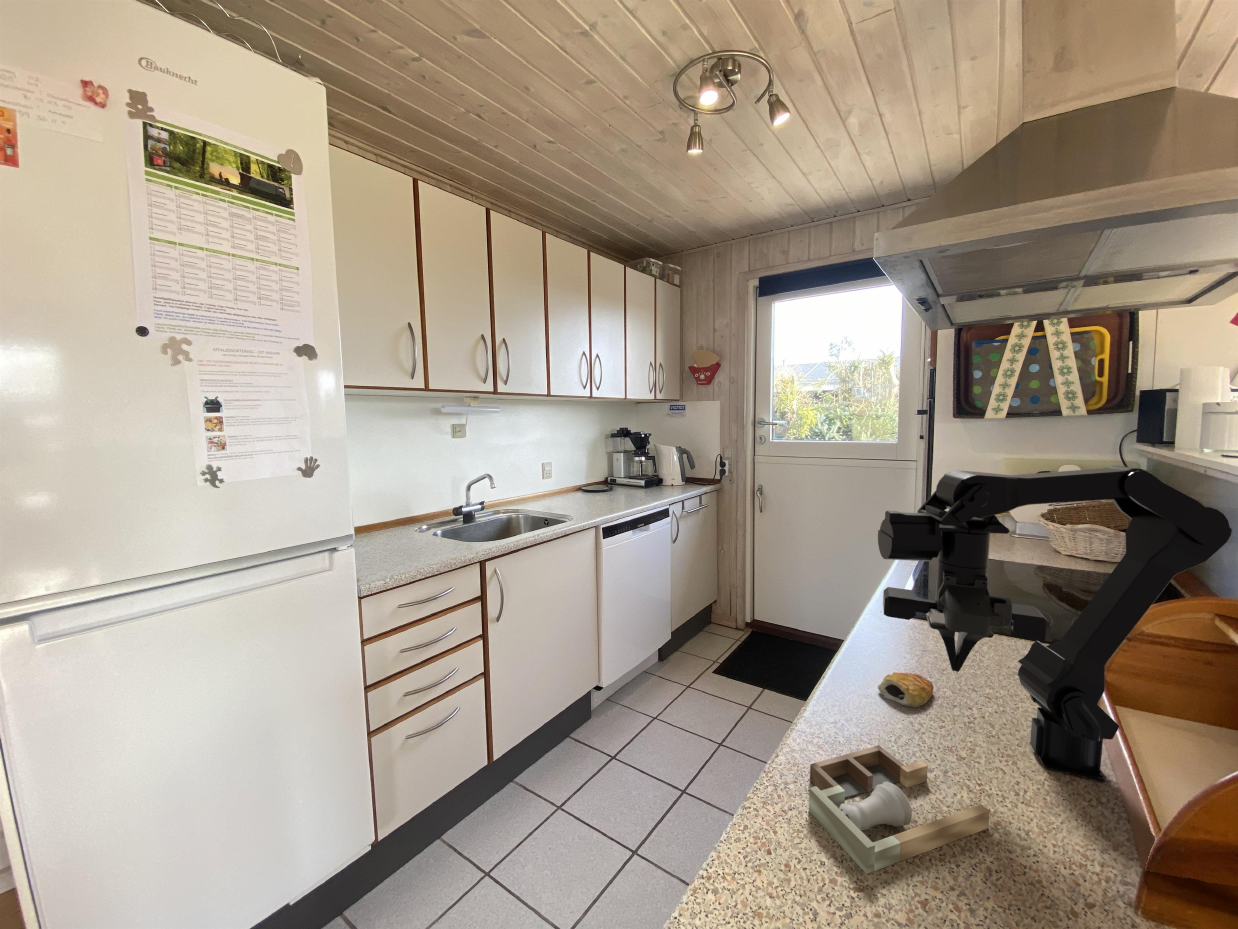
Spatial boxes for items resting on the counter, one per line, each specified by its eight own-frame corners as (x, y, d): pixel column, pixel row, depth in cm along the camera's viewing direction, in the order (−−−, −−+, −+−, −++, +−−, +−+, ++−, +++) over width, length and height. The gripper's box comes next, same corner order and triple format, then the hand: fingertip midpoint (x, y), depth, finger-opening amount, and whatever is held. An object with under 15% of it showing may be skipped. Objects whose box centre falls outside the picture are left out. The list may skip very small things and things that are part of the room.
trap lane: (893, 755, 71) (894, 735, 71) (988, 828, 59) (990, 804, 58) (786, 786, 65) (786, 765, 65) (866, 874, 53) (867, 847, 53)
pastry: (906, 679, 92) (907, 659, 92) (944, 697, 86) (946, 676, 86) (874, 694, 87) (875, 673, 87) (913, 714, 81) (914, 691, 81)
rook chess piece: (878, 778, 63) (824, 797, 60) (903, 782, 59) (846, 803, 57) (894, 820, 61) (838, 841, 59) (920, 827, 57) (862, 850, 55)
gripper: (888, 569, 66) (882, 681, 68) (1070, 590, 58) (1059, 718, 60) (885, 549, 76) (880, 647, 78) (1040, 565, 68) (1031, 675, 70)
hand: (955, 670), depth 71 cm, fingers closed
